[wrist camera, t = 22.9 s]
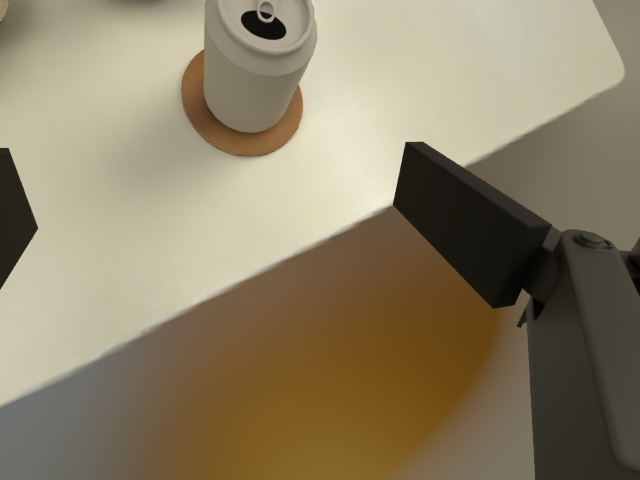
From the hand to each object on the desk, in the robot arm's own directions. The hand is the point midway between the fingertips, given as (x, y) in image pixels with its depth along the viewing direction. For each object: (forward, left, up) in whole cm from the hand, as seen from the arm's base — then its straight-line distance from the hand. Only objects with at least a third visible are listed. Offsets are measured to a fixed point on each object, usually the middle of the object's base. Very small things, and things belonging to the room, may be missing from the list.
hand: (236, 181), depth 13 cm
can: (-8, +11, -20) cm, 24 cm away
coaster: (-8, +12, -20) cm, 25 cm away
